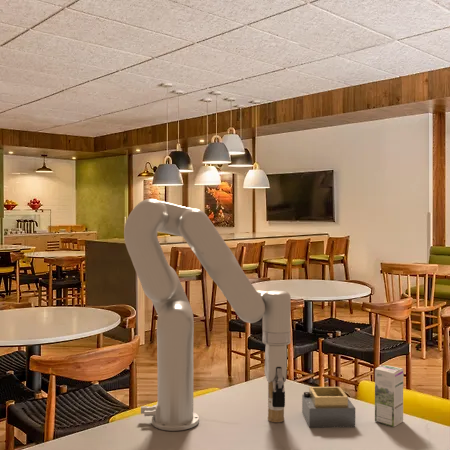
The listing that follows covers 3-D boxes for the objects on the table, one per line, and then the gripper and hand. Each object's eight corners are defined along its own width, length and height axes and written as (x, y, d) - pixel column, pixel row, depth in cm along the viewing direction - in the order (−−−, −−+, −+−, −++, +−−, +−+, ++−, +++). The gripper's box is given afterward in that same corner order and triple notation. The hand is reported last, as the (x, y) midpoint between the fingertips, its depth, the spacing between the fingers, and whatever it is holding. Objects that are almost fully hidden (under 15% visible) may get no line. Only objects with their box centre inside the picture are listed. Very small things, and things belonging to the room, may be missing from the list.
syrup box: (403, 421, 147) (404, 367, 147) (393, 427, 143) (394, 372, 142) (384, 416, 151) (384, 363, 150) (373, 422, 146) (374, 368, 146)
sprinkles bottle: (266, 417, 150) (266, 368, 150) (282, 416, 150) (283, 367, 150) (269, 423, 145) (269, 373, 145) (286, 422, 146) (286, 372, 145)
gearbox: (309, 427, 142) (309, 399, 142) (302, 412, 153) (302, 385, 153) (355, 427, 143) (355, 398, 143) (344, 411, 154) (345, 385, 154)
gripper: (259, 330, 156) (259, 390, 156) (265, 344, 139) (265, 412, 139) (285, 330, 156) (285, 389, 156) (295, 344, 139) (295, 411, 139)
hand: (276, 400), depth 148 cm, fingers open, 9 cm apart
